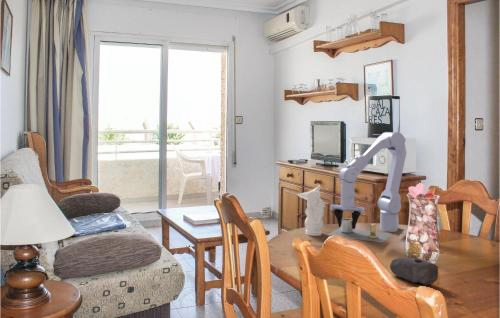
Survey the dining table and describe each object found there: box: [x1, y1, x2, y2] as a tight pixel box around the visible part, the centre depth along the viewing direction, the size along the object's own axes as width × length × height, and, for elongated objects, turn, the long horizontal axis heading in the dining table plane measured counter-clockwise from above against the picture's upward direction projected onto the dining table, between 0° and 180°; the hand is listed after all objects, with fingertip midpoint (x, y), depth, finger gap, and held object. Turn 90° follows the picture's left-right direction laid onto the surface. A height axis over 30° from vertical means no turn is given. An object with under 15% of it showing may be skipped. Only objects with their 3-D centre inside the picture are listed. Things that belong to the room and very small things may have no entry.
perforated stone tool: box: [389, 257, 439, 286], centre depth 131 cm, size 15×5×7 cm, turn 36°
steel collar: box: [339, 217, 354, 233], centre depth 186 cm, size 5×5×5 cm
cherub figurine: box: [297, 183, 326, 237], centre depth 185 cm, size 12×12×22 cm
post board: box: [327, 224, 393, 243], centre depth 182 cm, size 16×23×6 cm
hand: (347, 227), depth 186 cm, fingers closed on steel collar, 5 cm apart
